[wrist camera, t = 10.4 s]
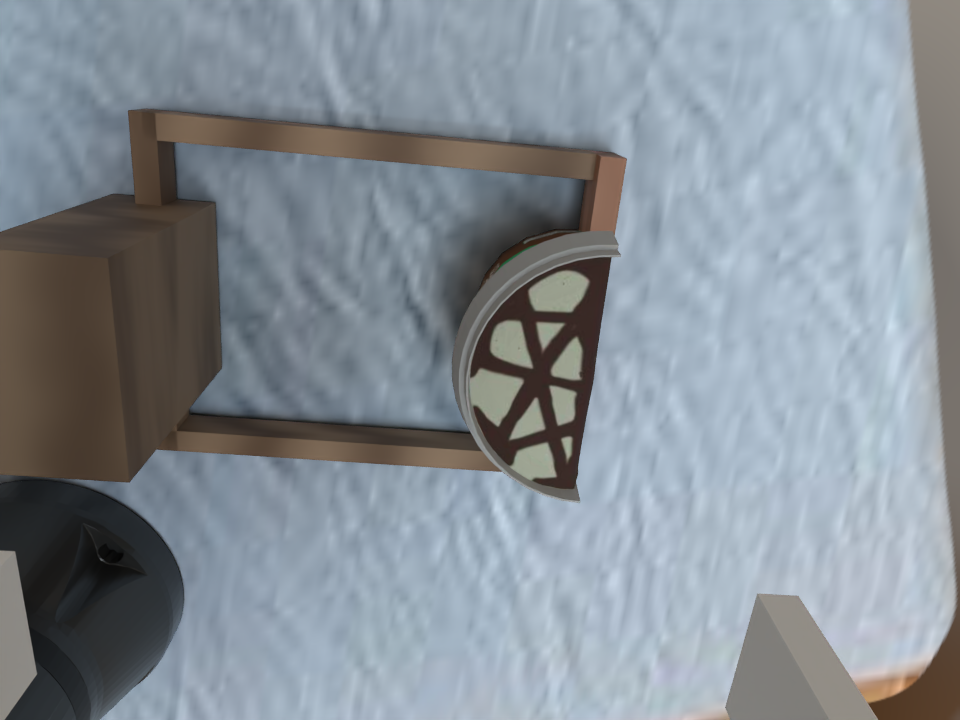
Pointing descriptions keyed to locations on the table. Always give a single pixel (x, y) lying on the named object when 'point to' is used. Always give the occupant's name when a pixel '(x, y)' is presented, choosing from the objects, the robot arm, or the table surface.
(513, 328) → the food container
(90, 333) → the walnut bed frame
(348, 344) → the table surface
